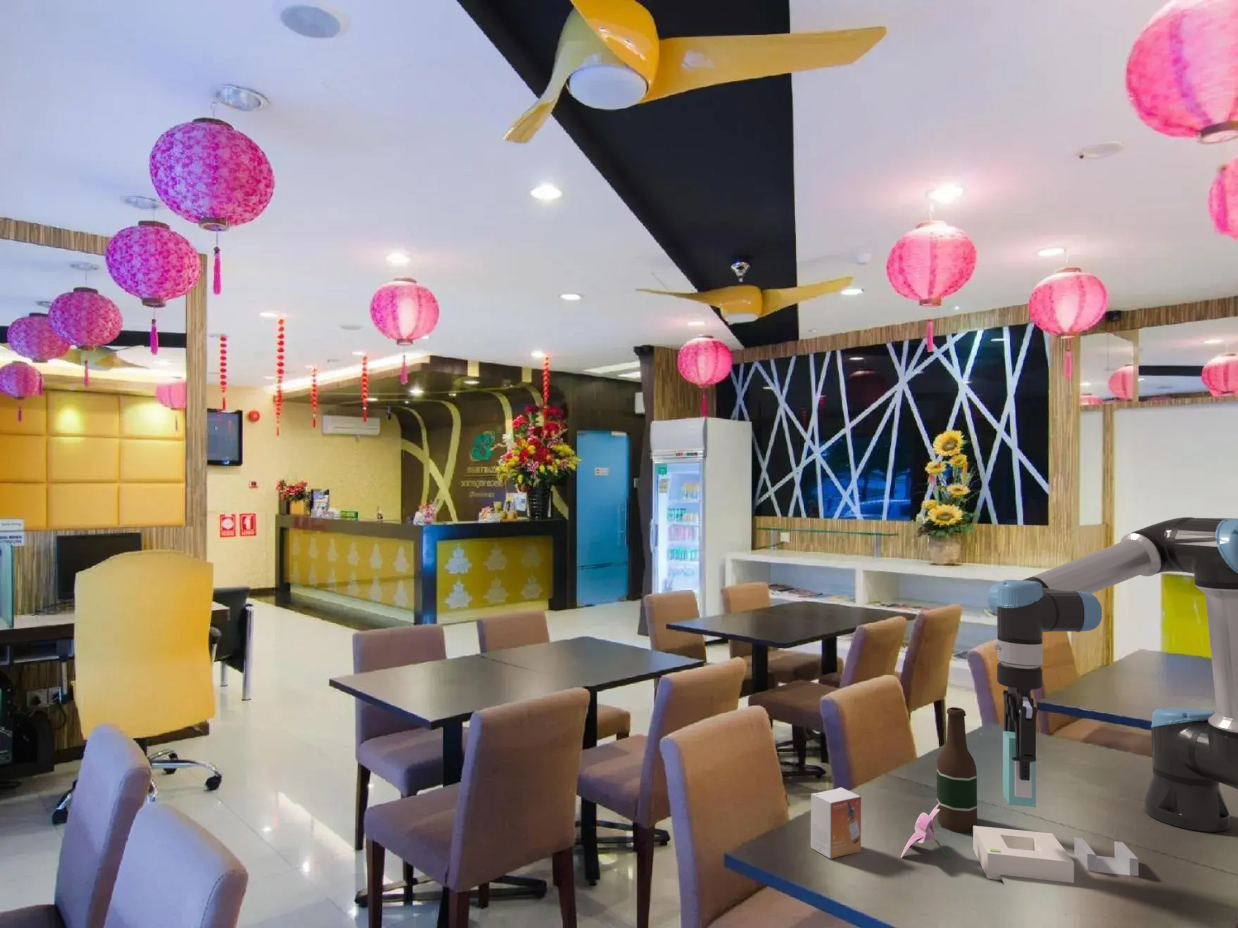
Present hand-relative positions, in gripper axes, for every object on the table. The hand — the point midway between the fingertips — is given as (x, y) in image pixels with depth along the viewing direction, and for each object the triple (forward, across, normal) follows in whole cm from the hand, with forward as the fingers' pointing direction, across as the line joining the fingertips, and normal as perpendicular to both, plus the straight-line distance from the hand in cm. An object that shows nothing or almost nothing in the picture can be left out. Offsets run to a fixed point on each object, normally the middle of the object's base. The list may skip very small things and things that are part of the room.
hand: (1019, 790), depth 145 cm
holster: (+14, -3, +15) cm, 21 cm away
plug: (+2, 0, 0) cm, 2 cm away
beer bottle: (+14, -17, -8) cm, 24 cm away
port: (+14, 0, 0) cm, 14 cm away
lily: (+14, -2, -16) cm, 22 cm away
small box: (+15, +1, -33) cm, 36 cm away
